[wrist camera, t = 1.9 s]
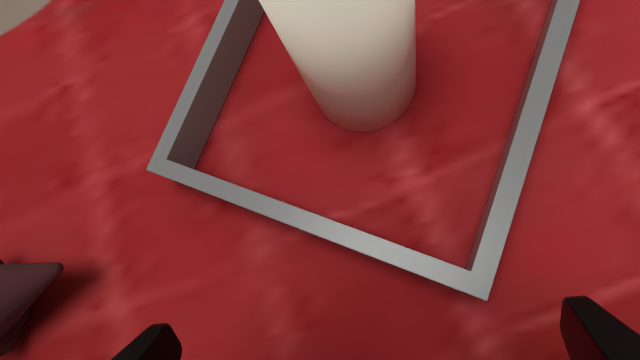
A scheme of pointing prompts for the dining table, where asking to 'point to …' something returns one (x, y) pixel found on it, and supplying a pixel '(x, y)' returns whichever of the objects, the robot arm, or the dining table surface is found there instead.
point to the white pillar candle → (352, 56)
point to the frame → (476, 280)
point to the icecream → (21, 296)
